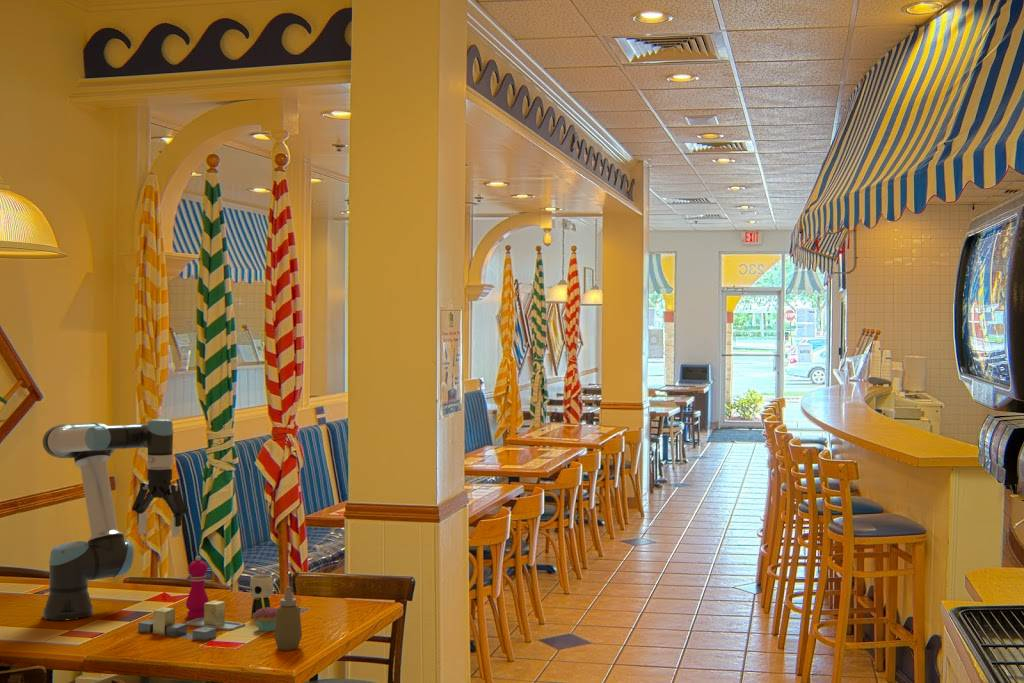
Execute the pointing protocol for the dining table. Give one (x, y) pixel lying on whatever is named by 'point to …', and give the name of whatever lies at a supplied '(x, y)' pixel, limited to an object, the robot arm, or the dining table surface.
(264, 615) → the cupcake
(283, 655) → the dining table surface
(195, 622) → the tray
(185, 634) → the gray notched bar
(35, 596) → the dining table surface
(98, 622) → the dining table surface
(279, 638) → the squeeze bottle
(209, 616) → the beige rectangular block
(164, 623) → the cream upright block
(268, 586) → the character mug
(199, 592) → the pepper mill
